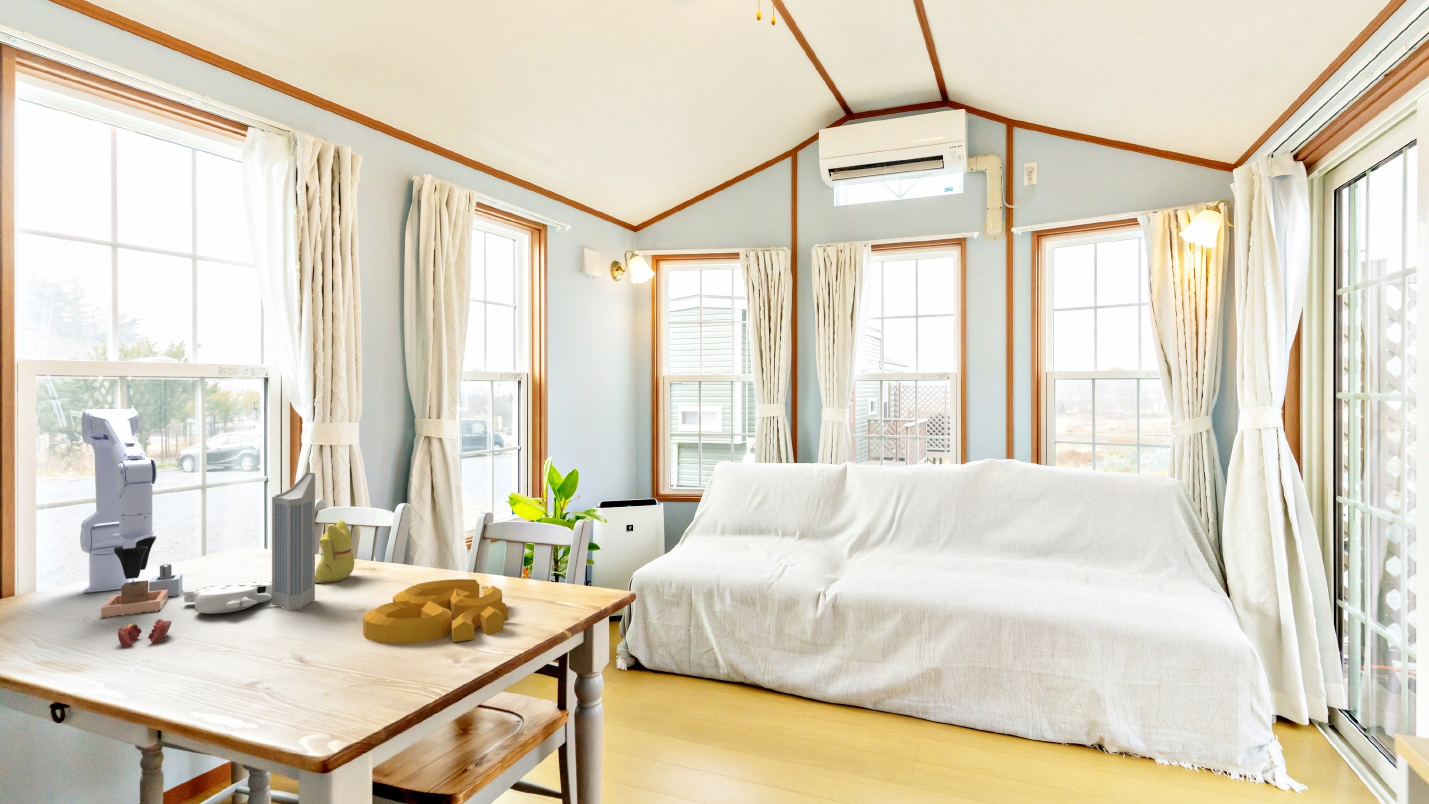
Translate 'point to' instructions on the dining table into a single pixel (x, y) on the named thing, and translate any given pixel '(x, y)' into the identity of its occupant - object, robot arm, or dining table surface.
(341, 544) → the figurine
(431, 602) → the decorative symbol
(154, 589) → the slate block
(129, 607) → the tray
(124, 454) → the robot arm
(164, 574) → the pin
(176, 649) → the dining table surface
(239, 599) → the toy
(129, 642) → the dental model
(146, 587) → the walnut block
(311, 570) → the building model
